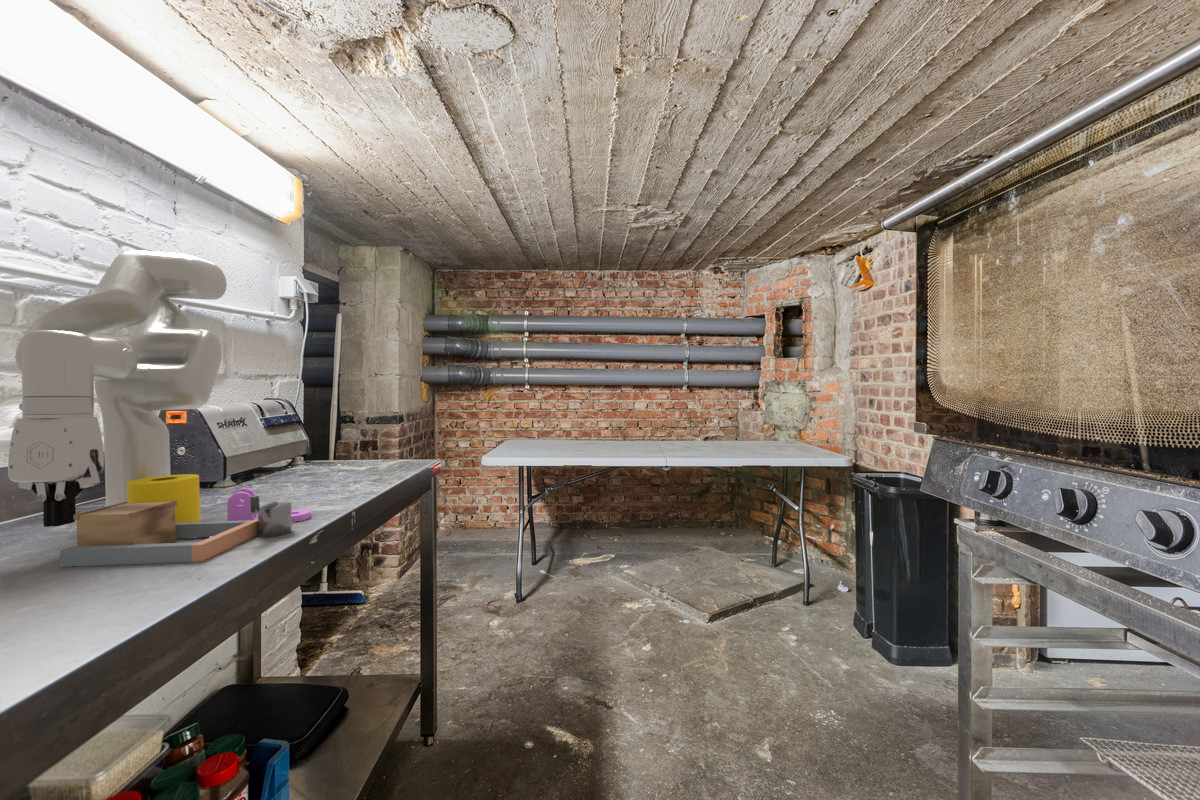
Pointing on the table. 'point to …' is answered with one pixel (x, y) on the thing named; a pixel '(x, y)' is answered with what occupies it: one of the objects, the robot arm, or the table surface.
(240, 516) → the bracket
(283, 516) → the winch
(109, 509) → the block
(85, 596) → the table surface
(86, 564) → the bay
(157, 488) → the yellow roll
